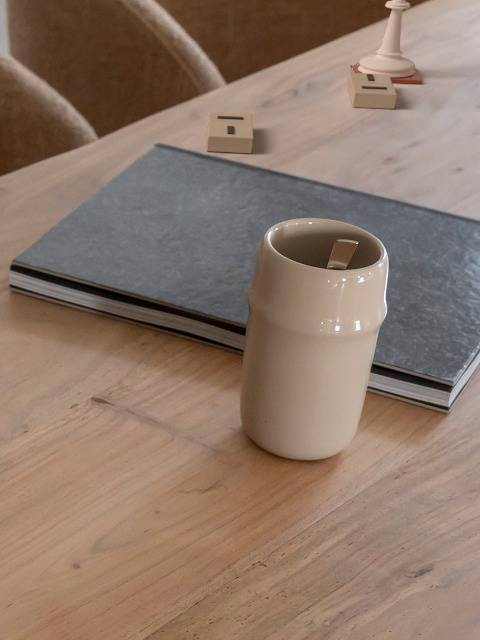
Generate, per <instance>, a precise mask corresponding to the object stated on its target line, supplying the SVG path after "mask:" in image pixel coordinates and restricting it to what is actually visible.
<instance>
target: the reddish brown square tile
mask: <svg viewBox="0 0 480 640" xmlns="http://www.w3.org/2000/svg"><path fill="white" fill-rule="evenodd" d="M356 63H357V64H358V63H359V62H356ZM357 64H356V65H354V66H352V67H353V71H354V73H361V72H360V71H359V70H358V67H359V66H360V64H359V65H358V66H357ZM414 71H415V73H414V74H413V75H411V76H408V77H401V78H390V79H391V81H392V84H412V85H421V84H422V79H421V77H420V75H419V72H418V71H417V68H416V67H415V68H414Z"/></svg>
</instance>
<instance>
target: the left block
mask: <svg viewBox="0 0 480 640" xmlns="http://www.w3.org/2000/svg"><path fill="white" fill-rule="evenodd" d="M253 145H254V128H253V115H252V114H251V113H239V112H237V113H236V112H218V111H217V112H215V111H209V112H208V113H207V123H206V152H215V153H231V154H232V153H233V154H252V153H253Z"/></svg>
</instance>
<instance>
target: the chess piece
mask: <svg viewBox="0 0 480 640" xmlns="http://www.w3.org/2000/svg"><path fill="white" fill-rule="evenodd" d="M384 7H386V8H387V9H390V10H391V11H390V14H389V18H388V21H387V24H386V29H385V32H384V36H383V38H382V41H381V44H380V47H379V49H377V50H376V51H375V53H377V54H373V55H368V56H365V57H363V58H362V59H361V60H359V63H360V66H359V67H358V70H359V71H360V72H361V73H368V74H388V75H389V76H390V78H401V77H408V76H411V75H413V74H414V73H415V71H414V68H416V63H415V62H414V61H412V60H411V59H409V58H406V57H404V56H402V55H403V54H404V52H403V51H401V37H402V36H401V35H402V22H403V21H402V20H403V10H408V9H410V8H411V3H410V2H408V1H407V0H388V1H386V3H385V4H384Z"/></svg>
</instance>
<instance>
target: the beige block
mask: <svg viewBox="0 0 480 640" xmlns="http://www.w3.org/2000/svg"><path fill="white" fill-rule="evenodd" d="M346 88H347V91H348V95H349V99H350V103H351V106H352V108H361V109H362V108H363V109H383V110H384V109H388V110H394V109H395V107H396V104H397V103H396V102H397V99H398V98H397V97H398V94H397V92H396V89H395V87H394V83H392V81H391V79H390V76H389V75H388V74H368V73H353V72H349V73H348V76H347V83H346Z"/></svg>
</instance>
